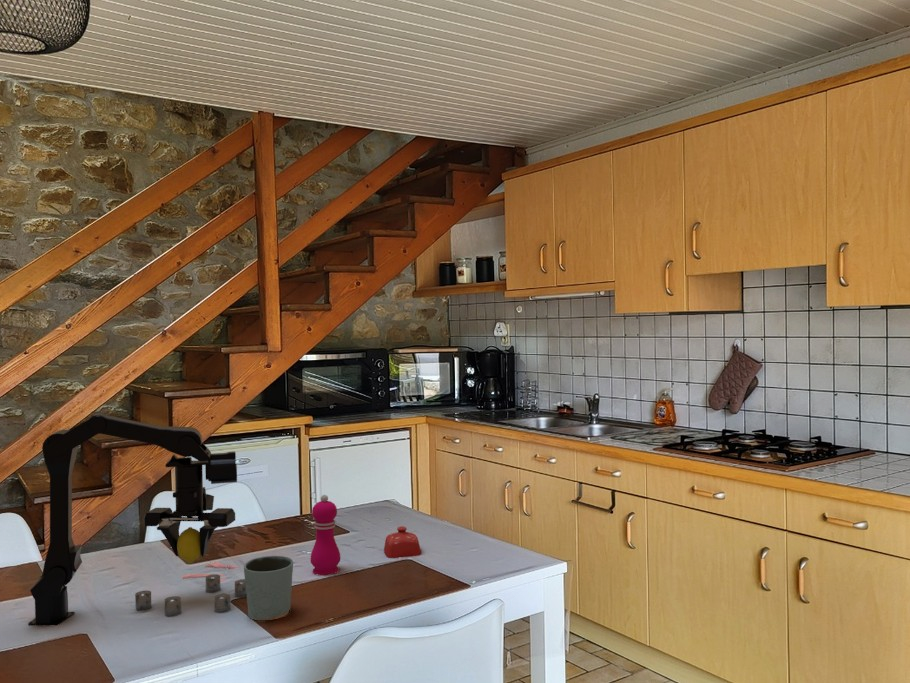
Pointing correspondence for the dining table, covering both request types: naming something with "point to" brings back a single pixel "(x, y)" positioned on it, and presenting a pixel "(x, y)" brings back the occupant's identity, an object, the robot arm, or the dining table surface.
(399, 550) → the butter dish
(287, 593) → the grey ceramic cup
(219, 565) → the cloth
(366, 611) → the dining table surface
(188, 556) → the lemon
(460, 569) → the dining table surface
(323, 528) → the pepper mill
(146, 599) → the spacers
